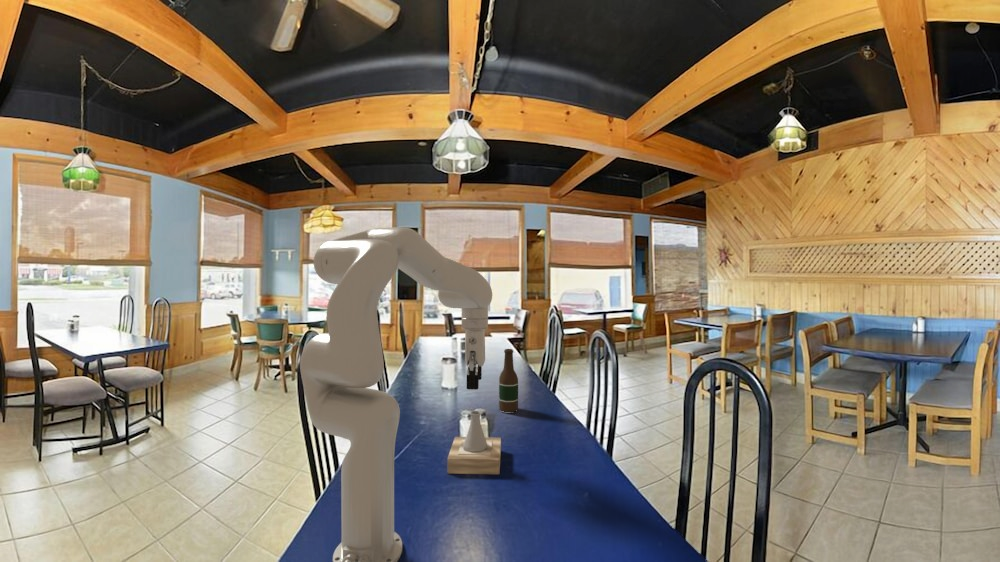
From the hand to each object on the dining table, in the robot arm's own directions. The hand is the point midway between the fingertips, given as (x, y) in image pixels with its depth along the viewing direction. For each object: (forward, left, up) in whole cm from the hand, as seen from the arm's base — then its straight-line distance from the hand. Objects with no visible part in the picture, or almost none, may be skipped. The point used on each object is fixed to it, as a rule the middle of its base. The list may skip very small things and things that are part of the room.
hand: (474, 384), depth 112 cm
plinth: (0, -1, -22) cm, 22 cm away
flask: (0, 0, -18) cm, 18 cm away
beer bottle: (+42, -10, -23) cm, 49 cm away
